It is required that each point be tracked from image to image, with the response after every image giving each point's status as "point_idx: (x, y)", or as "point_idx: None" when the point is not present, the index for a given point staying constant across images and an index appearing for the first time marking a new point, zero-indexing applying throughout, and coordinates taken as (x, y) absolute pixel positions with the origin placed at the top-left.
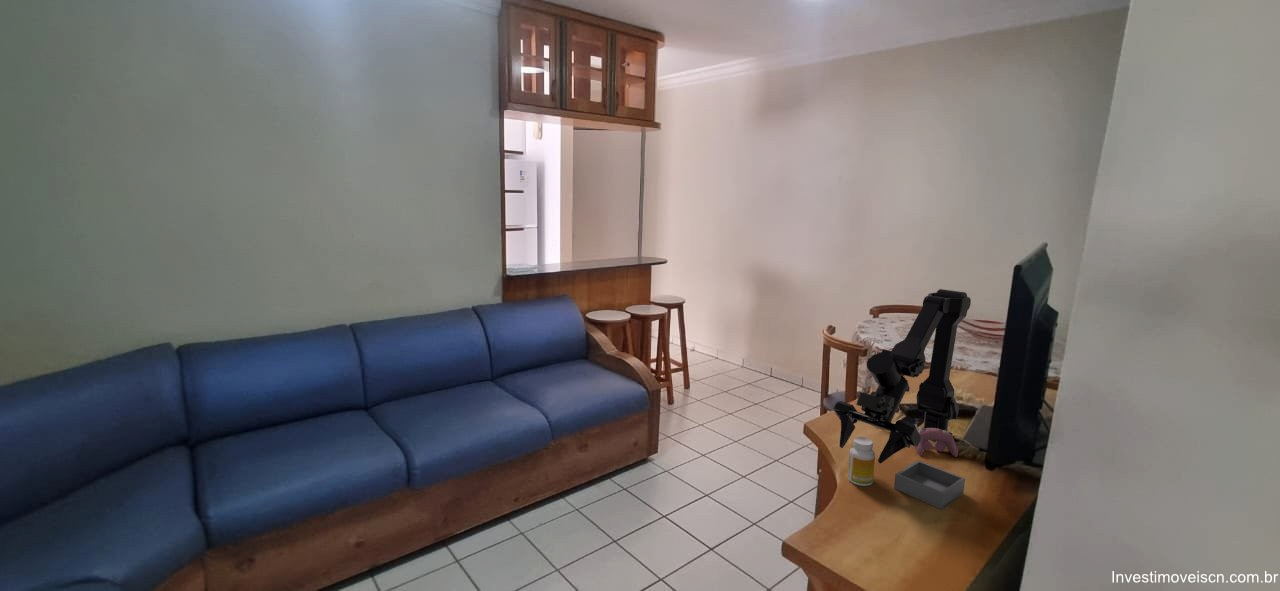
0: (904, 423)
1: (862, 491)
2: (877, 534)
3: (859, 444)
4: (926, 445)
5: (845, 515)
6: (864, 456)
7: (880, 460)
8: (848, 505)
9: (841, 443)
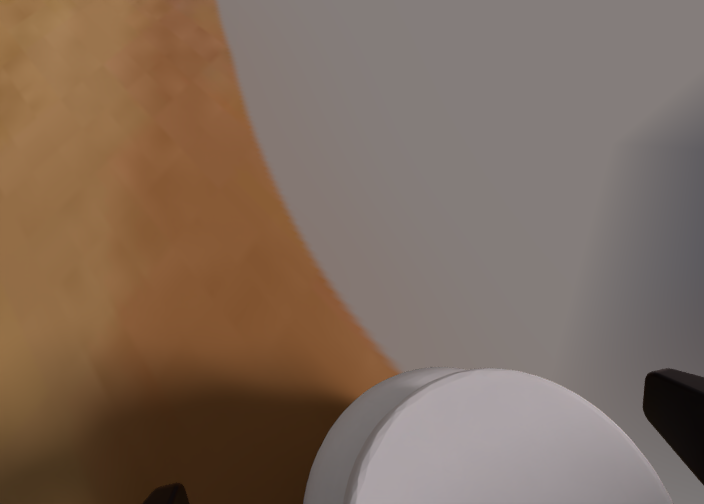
0: None
1: (296, 396)
2: (43, 170)
3: (447, 377)
4: None
5: (207, 163)
6: (345, 421)
7: (145, 500)
8: (248, 225)
9: (683, 381)
